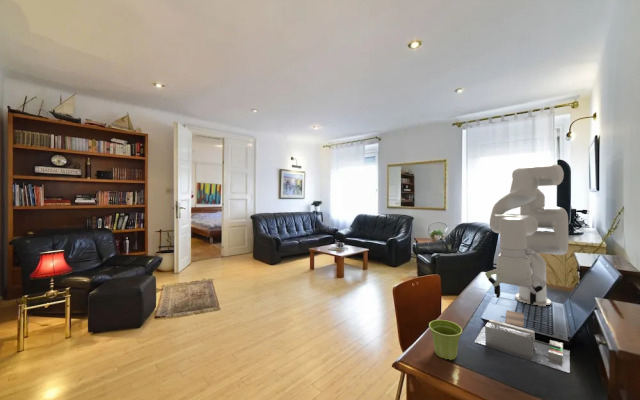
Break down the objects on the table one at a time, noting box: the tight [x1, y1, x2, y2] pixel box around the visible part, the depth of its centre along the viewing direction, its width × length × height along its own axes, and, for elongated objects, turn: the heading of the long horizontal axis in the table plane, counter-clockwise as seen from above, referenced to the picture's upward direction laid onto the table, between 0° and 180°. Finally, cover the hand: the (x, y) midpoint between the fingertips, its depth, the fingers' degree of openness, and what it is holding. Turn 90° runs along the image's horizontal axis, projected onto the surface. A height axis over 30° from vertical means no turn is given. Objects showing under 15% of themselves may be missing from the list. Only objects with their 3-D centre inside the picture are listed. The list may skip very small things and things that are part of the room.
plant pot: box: [428, 319, 463, 361], centre depth 81 cm, size 9×9×9 cm
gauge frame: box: [474, 322, 571, 375], centre depth 83 cm, size 13×23×6 cm, turn 46°
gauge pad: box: [488, 318, 560, 349], centre depth 84 cm, size 2×18×5 cm, turn 46°
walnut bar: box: [504, 310, 525, 328], centre depth 92 cm, size 12×5×5 cm, turn 142°
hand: (514, 299), depth 92 cm, fingers open, 9 cm apart
